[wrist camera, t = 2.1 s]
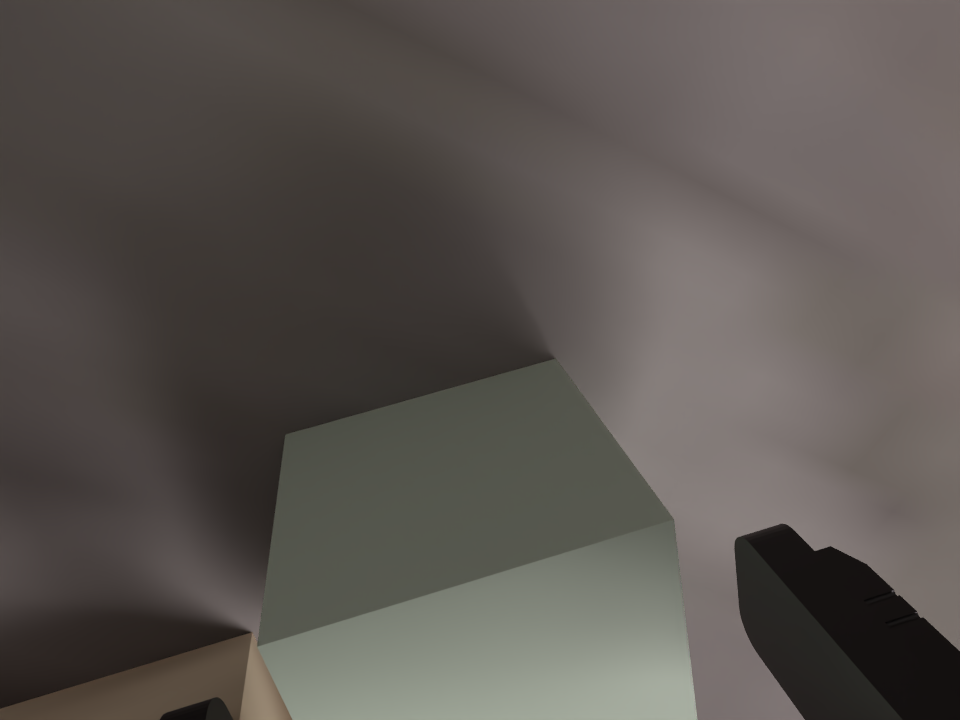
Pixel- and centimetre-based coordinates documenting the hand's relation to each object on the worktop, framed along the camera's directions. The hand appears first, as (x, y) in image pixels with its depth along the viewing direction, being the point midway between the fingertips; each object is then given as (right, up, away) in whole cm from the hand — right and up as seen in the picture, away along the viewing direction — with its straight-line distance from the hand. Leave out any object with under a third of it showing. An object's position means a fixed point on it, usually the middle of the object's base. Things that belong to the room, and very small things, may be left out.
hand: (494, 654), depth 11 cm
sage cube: (-1, +2, +3) cm, 4 cm away
